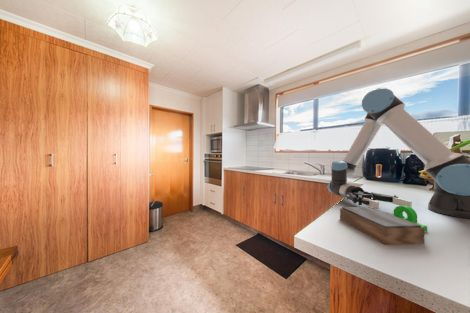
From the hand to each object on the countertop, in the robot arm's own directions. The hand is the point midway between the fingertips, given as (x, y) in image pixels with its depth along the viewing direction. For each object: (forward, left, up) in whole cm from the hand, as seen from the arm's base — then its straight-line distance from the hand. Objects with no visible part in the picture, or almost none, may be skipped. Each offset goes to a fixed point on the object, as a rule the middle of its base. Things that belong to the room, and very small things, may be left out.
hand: (394, 205), depth 63 cm
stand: (+14, +7, -6) cm, 17 cm away
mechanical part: (+2, +3, -6) cm, 7 cm away
